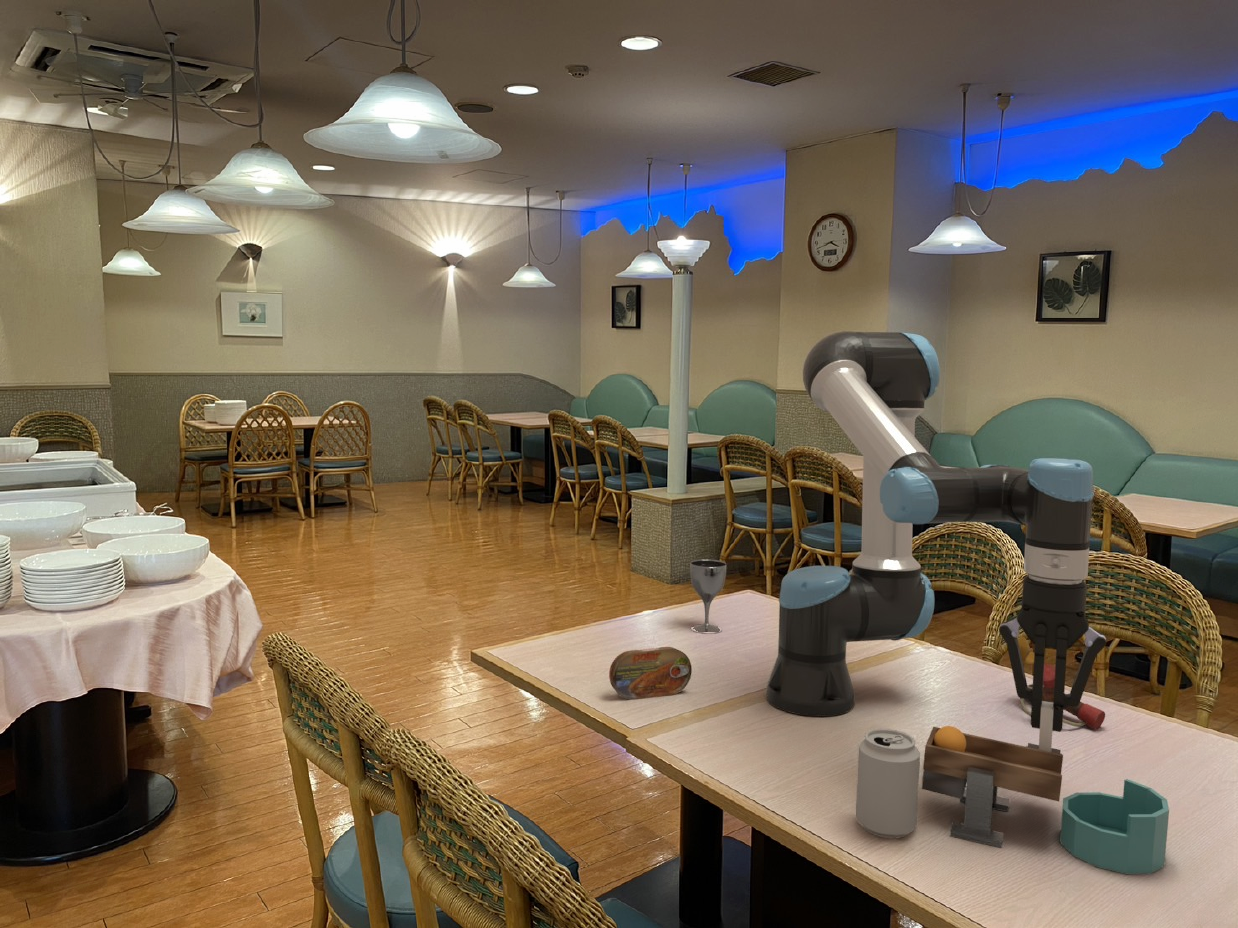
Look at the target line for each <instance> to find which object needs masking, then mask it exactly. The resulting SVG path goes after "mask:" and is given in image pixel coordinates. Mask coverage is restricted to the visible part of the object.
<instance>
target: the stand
mask: <svg viewBox="0 0 1238 928" xmlns="http://www.w3.org/2000/svg"><path fill="white" fill-rule="evenodd" d="M998 788H999V787H995V786H994V771H989V770H984V769H979V768H974V767H969V768H968V772H967V784H966V788H965V791H964V794H963V798H962V799H959V802H960V803H965V806H964V807H965V809H964V820H963V821H964V823H960V822H956V821H952V824H951V827H950V833H949V834H950V835H949V836H950V837H952V838H957V839H961V840H967V841H971V842H974V843H979V844H983V845H987V846H990V847H995V848H1000V849H1002V848H1003V843H1004V842H1003V841H1004V832H999V831H996V830H991V829H992V814H993V809H994V810H999V811H1004V812H1007V813H1008V812H1009V807H1010V798H1007V797H1004V796H1000V795H998Z"/></svg>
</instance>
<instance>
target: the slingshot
mask: <svg viewBox="0 0 1238 928" xmlns="http://www.w3.org/2000/svg"><path fill="white" fill-rule="evenodd" d="M1017 639H1018V643H1019V648H1020V653H1021V658H1022V662H1023V667H1024V666H1034V652H1033V651H1031V647H1030V644H1029V642H1028V640H1027V639H1026V638H1025V637H1024V636H1021V637H1017ZM1024 668H1025V667H1024ZM1054 685H1055V666H1053V665H1051V664H1050V663H1049V664H1048V663H1044V679H1043V696H1042V701H1046V702H1052V703H1054ZM1027 686H1028V688H1030V689H1032V687H1033V683H1031V684H1029V685H1028V684H1027ZM1064 694H1066V693H1065V692H1064ZM1024 700H1025V699H1021V698H1019V701H1020V704H1021V705H1020V706H1021V707H1022V709H1023V711H1024V712H1025V713H1026V714H1027V715H1029V716H1030V717H1031V710H1029V709H1028V708H1027V706H1026V704H1025V702H1024ZM1064 711H1065V712H1068V713H1069V714H1071V715H1072V716H1074V717H1076V718H1077V719H1078V720H1080V721H1081V722H1078V723H1077V722H1073V721H1070V720H1068V719H1064V718H1063V724H1067V725H1069V726H1073V727H1077V728H1078V727H1079V728H1080V727H1083V726H1084V725H1087V726H1089V727H1090V728H1092V729H1093V730H1098V729H1099V728H1101V726H1102V725H1103V723H1104V721H1105V719H1106V718H1105V717H1106V712H1105V711H1104V710H1101V709H1099V708H1097V707H1095V706H1093V705H1091V704H1088V703H1085V702H1082V701H1080V703H1079V705H1078V706H1076V707H1074V706H1069V707H1066V708H1065V709H1064Z"/></svg>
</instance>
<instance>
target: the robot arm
mask: <svg viewBox="0 0 1238 928" xmlns="http://www.w3.org/2000/svg"><path fill="white" fill-rule="evenodd" d="M940 378H941V368H940V362H939V358H938V354H937V352H936V350H935V348H934V346H933V345H932V344H931V342H930V341H929V340H928V339H927V338H926V337H924V336H922V335H919V334H916V333H908V332H907V333H906V332H902V331H901V332H900V331H894V332H892V331H891V332H888V331H887V332H885V331H884V332H880V331H879V332H878V331H876V332H875V331H871V332H870V331H852V330H851V331H850V330H849V331H846V330H845V331H844V330H843V331H837V332H834V333H832V334H828V335H827V336H825V337H823V338H822V339H820V340H819V341H817V343H816V344H815V345H814V346H813V347H812V348H811V349H810V351H809V352H808V354H807V356H806V358H805V361H804V363H803V369H802V382H803V386H804V389H805V391H806V393H807V395H808V397H809V398H810V400H811V401H812V402H813V404H814V405H815V406H816V407H817V408H819V409H820V410H822V411H824V412H828V413H829V414H830V416H832V418H833V419H834V421H836V423H837V424H838V426H839V427H840V428H841V430H842V431H843V432H844V433H845V434H846V436H847V437H848V438H849V440H850V442H852V444H853V445H854V447H855V448H856V449H857V450H858V452H859V453H860V454H861V455H862V457H863V459H862V461H863V462H862V505H861V506H862V508H861V512H862V513H861V552H860V554H859V555H858V556H857V557H856V558H855V559H854V560H853V561H852V567H851V569H852V572H851V573H852V574H850V573H849V571H848V569H846V568H844V567H841V566H836V565H825V566H824V565H812V566H811V565H810V566H804V567H801V568H797V569H796V568H795V569H794V570H792V571H789V572H788V573H787V574H785V576H784V577H782V580H781V585H780V593H779V598H778V603H779V608H778V609H779V611H778V612H779V615H778V617H779V619H778V647H777V648H778V649H777V657H776V660H775V663H774V666H773V668H772V670H771V673H770V675H769V679H768V681H767V685H766V695H765V697H766V700H767V701H768V703H770V705H771V706H773V707H775V708H777V709H780V710H782V711H785V712H789V713H791V714H795V715H802V716H811V717H832V716H838V715H842V714H846V713H848V712H850V711H851V710H852V709H853V708H854V707H855V688H854V685H853V682H852V678H851V675H850V671H849V669H848V664H847V658H846V657H847V643H851V642H852V643H853V642H854V643H855V642H870V641H888V640H890V641H894V642H896V641H901V640H902V639H903V640H904V639H911V638H916V637H918V636H920V635H922V633H923V632H924V631H925V630H926V629H927V628H928V626H929V625H930V623H931V622H932V621H931V620H932V618H933V615H934V609H935V591H934V590H933V589H932V584H931V580H930V579H929V578H928V577H927V575H925V574H924V573H922V572H921V571H922V570H921V568H922V567H921V564H920V563H919V561H917V560H916V559H915V557H914V556H913V528H914V527H913V525H925V524H943V523H945V524H946V523H977V522H978V523H979V522H981V523H982V522H983V523H985V522H986V523H987V522H1009V523H1013V524H1018V525H1022V526H1025V541H1024V542H1025V543H1024V558H1023V559H1024V560H1023V563H1024V564H1023V572H1024V573H1025V574H1026V575H1025V576H1024V578H1023V580H1022V592H1021V593H1022V597H1021V608H1020V610H1018V612H1017V616H1016V618H1014V619H1012V620H1010V621H1008V622H1007V621H1003V622H1001V623H1000V626H999V628H998V629H999V630H998V633H1000V635H1001V637H1002V639H1003V640H1004V642H1005V644H1006V647H1007V651H1008V657H1009V662H1010V666H1011V671H1012V676H1013V681H1014V685H1015V690H1016V694H1017V697H1018V698H1019V699H1020V698H1021V699H1023V700H1026V701H1028V702H1029V703H1030V705H1031V708H1030V709H1031V710H1030V712H1031V716H1030V726H1031V728H1033V729H1039V737H1038V745H1039V750H1043V751H1048V752H1051V748H1052V745H1053V743H1052V742H1053V732H1058V733H1061V731H1062V730H1063V725H1064V723H1063V719H1064V711H1065V710H1064V709H1065V708H1066V707H1069V706H1074V707H1076V706H1078V705H1079V703H1080V702H1081V700H1082V697H1083V695H1084V692H1085V688H1086V686H1087V683H1088V681H1089V677H1090V675H1091V671H1092V669H1093V666H1094V663H1095V661H1096V657H1097V656H1098V655H1099V653H1101V651H1102V650H1103V649H1104V648H1105V647H1106V646H1107V637H1106V635H1105V634H1103V633H1100V632H1097V631H1096V630H1094V629H1093V627H1091V626H1090V622H1089V620H1088V617H1087V615H1086V610H1087V609H1086V608H1087V592H1088V590H1087V589H1088V585H1087V584H1086V582H1085V579H1087V578H1088V575H1089V563H1090V562H1089V561H1090V560H1089V559H1090V557H1089V556H1090V539H1091V538H1090V537H1091V525H1092V513H1093V499H1094V496H1095V492H1094V470H1093V467H1092V465H1091V464H1090V463H1089V462H1087V461H1085V460H1080V459H1069V458H1059V457H1058V458H1053V457H1052V458H1051V457H1050V458H1048V457H1043V458H1035V459H1033V460H1031V462H1030V463H1029V469H1023V468H1019V467H1011V466H1010V465H1007V464H984V465H982V466H979V467H942V466H941V465H940V464H939V463H938V462H937V461H936V459H935V458H933V457H932V455H931V454H930V453H929V452H928V451H927V449H926V448H925V447H924V446H923V445H922V444H921V443H920V441H918V439H917V438H916V437H915V435H916V433H915V432H916V431H915V430H916V424H915V423H916V419H917V418H918V417H919V416H920V415H921V414H922V413H923V412H924V411H925V401H927V400H928V399H931V398H932V397H933V396H934V395H935V394H936V392H937V387H938V386H939V384H940V380H941V379H940ZM1019 628H1021V629H1022V631H1023V632H1024V634H1025V635H1026V637H1027V639H1029V641H1030V642H1031V643H1032V644H1033V645H1034V652H1033V653H1034V665H1033V673H1032V684H1033V687H1032V689H1030V688H1028V686H1027V685H1028V683H1027V678H1026V674H1025V667H1023V662H1022V658H1021V653H1020V648H1019V643H1018V639H1017V638H1019V636H1020V629H1019ZM1084 636H1085V639H1084V644H1085V649H1084V652H1083V656H1082V658H1081V661H1080V664H1079V666H1078V670H1077V672H1076V674H1075V678H1074V681H1073V684H1072V686H1071V690H1070V692H1069V693H1065V690H1066V689H1065V688H1066V671H1067V669H1066V667H1067V654H1068V650H1069V649H1071V648H1072V647H1073V646H1074V645H1075V644H1076V643H1077V642H1078V641H1079V640H1080V639H1081V638H1082V637H1084ZM1050 648H1051V649H1053V650H1056V651H1055V666H1054V668H1055V685H1054V703H1052V702H1046V701H1042V696H1043V679H1044V664H1045V662H1046V661H1045V659H1046V649H1050ZM1064 693H1065V694H1064Z"/></svg>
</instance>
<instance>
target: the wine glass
mask: <svg viewBox="0 0 1238 928" xmlns="http://www.w3.org/2000/svg"><path fill="white" fill-rule="evenodd" d="M689 564H690V565H689V571H690V572H689V573H690V581H691V585H692V588H693V589H694V591H695V592H696V594H697V595H698V597H699V598H700V599H701V600H702V601H701V602H702V603H703V606H704V622H703V623H702V624H695V626H694V625H692V626H691V627H694V628H693V629H695V630H696V631H698V632H719V631H720V629H719V628H718V625H714V624H710V622H709V621H710V620H709V616H710V614H709V613H710V608H711V605H712V602H713V600H714V599H715V598H716V597H717V595H718V594H719V593H721V591H722V590H723V589H724V585H725V583H726V582H725V581H726V576H727V563H726V562H725V561H723V560H717V559H710V558H709V559H708V558H706V559H705V558H704V559H700V558H699V559H694V560H691V561H690V563H689ZM719 633H720V632H719Z"/></svg>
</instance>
